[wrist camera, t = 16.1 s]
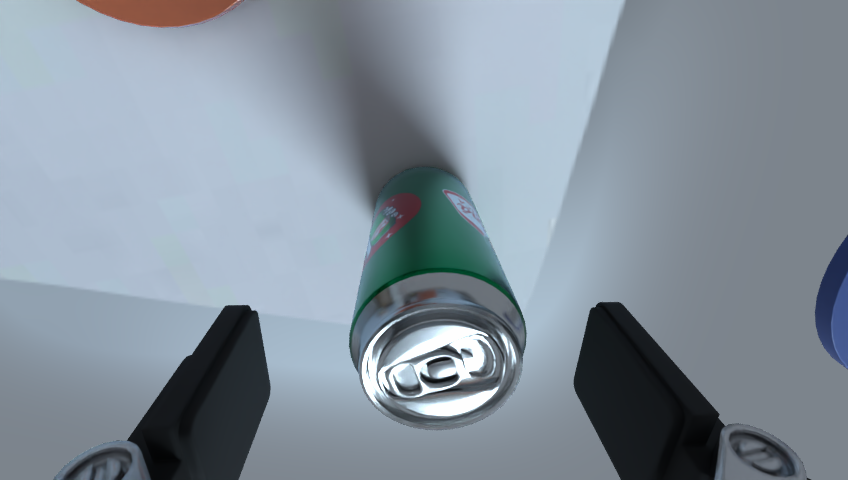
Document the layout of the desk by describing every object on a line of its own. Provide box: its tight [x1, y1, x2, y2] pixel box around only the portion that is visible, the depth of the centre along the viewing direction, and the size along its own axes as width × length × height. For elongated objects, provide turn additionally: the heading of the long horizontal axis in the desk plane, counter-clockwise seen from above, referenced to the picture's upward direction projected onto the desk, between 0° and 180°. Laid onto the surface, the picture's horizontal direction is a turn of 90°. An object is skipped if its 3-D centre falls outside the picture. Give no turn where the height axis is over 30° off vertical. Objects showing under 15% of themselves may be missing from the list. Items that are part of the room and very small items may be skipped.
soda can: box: [349, 167, 526, 430], centre depth 16 cm, size 5×5×12 cm
